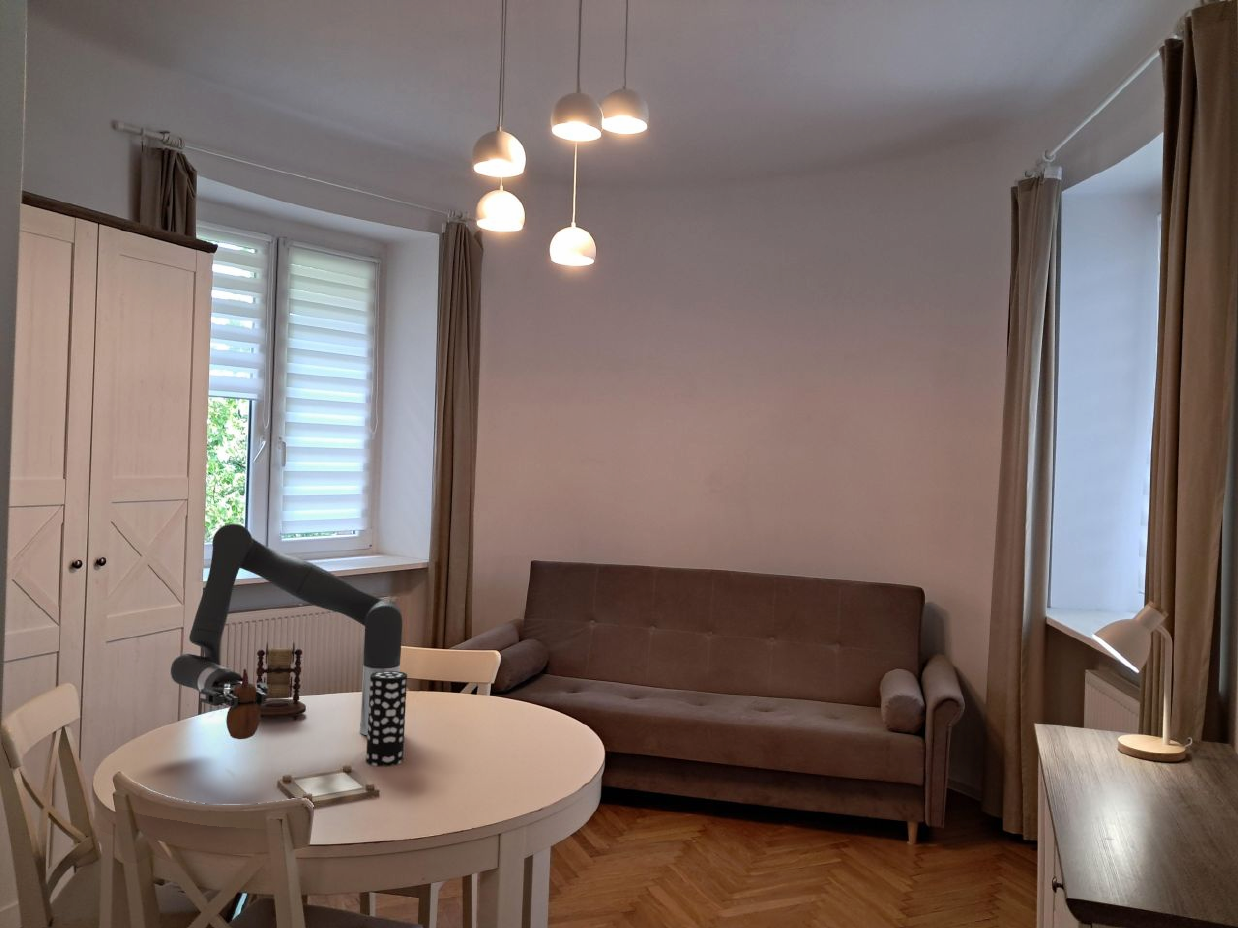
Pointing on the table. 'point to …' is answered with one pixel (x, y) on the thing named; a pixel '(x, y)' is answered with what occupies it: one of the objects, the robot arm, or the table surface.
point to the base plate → (328, 787)
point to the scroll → (280, 683)
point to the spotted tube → (386, 718)
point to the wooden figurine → (244, 711)
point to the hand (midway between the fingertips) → (249, 700)
